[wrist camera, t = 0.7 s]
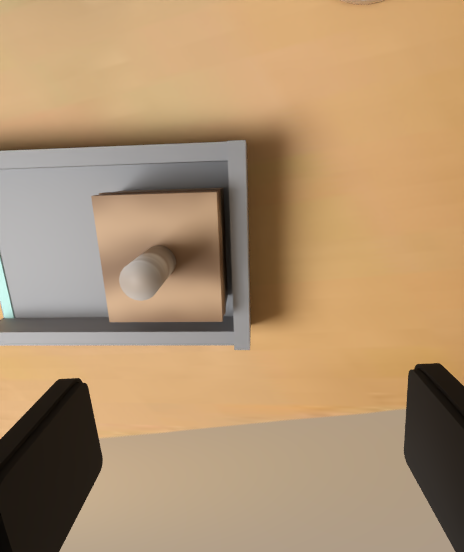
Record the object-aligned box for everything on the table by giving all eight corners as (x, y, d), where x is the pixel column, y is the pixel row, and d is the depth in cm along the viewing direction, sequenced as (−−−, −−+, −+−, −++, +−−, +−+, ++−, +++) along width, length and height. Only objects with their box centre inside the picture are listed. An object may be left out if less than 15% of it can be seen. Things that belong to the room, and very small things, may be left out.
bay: (-29, 155, 38) (-78, 153, 33) (246, 144, 36) (245, 140, 31) (12, 326, 44) (-24, 349, 39) (250, 325, 42) (250, 349, 37)
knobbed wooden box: (119, 189, 37) (52, 201, 25) (224, 186, 37) (208, 196, 24) (132, 297, 41) (79, 354, 29) (228, 296, 40) (217, 354, 28)
